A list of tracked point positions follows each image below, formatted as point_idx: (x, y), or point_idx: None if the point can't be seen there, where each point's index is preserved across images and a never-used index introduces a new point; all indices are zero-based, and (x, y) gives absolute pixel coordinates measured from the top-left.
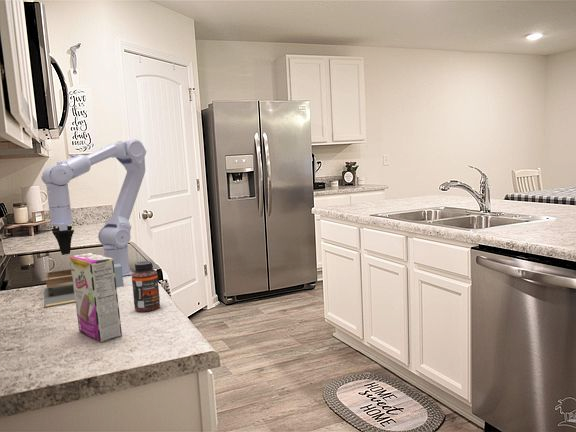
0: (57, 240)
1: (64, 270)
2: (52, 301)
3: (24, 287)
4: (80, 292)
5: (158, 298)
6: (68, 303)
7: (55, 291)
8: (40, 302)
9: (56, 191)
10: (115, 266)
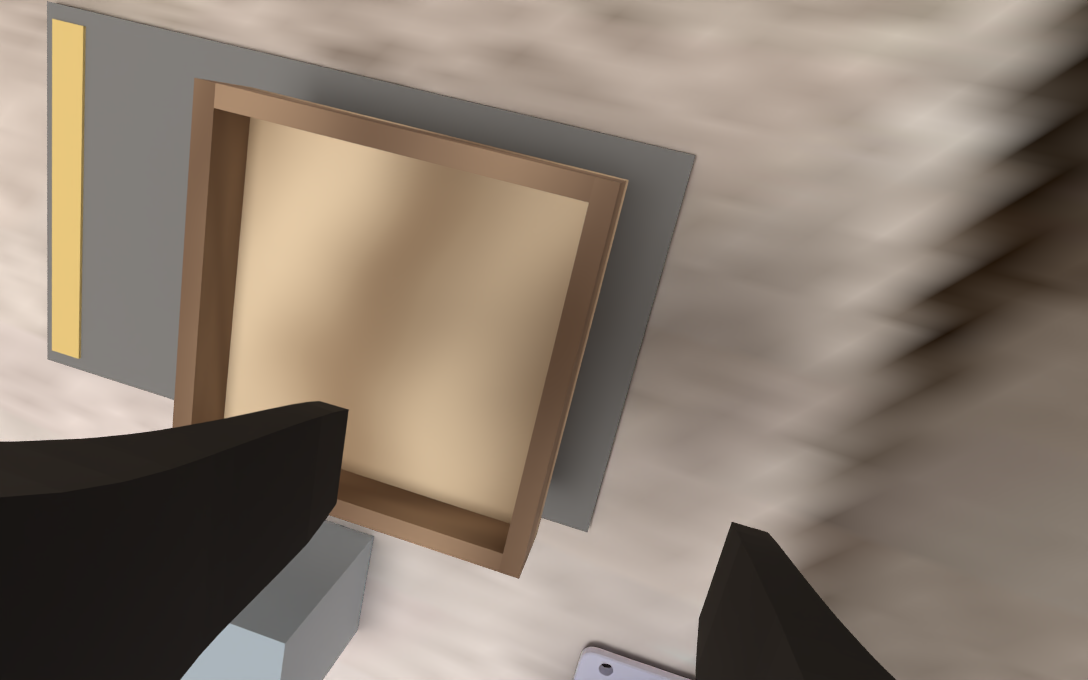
0: (48, 444)
1: (548, 372)
2: (159, 92)
3: (1066, 11)
4: None
5: None
6: (51, 171)
7: None
8: (243, 17)
9: None
10: None
